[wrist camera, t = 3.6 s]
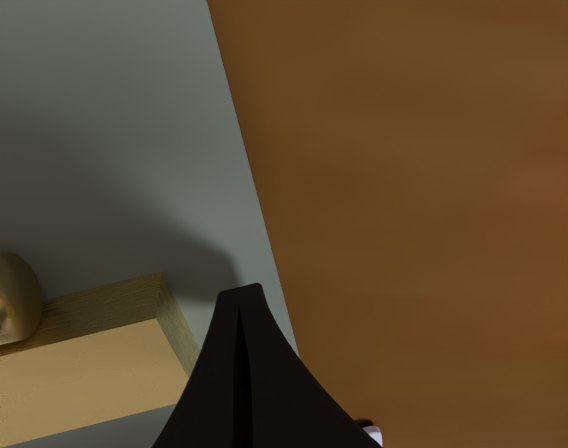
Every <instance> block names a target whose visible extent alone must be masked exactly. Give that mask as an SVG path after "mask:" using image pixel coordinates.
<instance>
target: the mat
mask: <svg viewBox="0 0 568 448" xmlns="http://www.w3.org/2000/svg"><path fill="white" fill-rule="evenodd" d="M1 253H12V254H15V255H18V256H19V257H21V258H22V259H23V260H25V261H26V262H27V263H28V265H29V266H30V267H31V269H32V270H33V272H34V273H35V275H36V277H37V280H38V282H39V285H40V289H41V294H42V300H45V299H49V298H53V297H57V296H62V295H66V294H70V293H74V292H78V291H82V290H86V289H90V288H94V287H98V286H103V285H107V284H111V283H115V282H119V281H123V280H127V279H131V278H135V277H139V276H143V275H148V274H152V273H156V272H160V271H162V272H163V274H164V276H165V278H166V280H167V282H168V284H169V286H170V288H171V290H172V293H173V295H174V297H175V299H176V301H177V303H178V305H179V307H180V309H181V311H182V313H183V315H184V317H185V319H186V321H187V323H188V326H189V328H190V330H191V332H192V334H193V336H194V338H195V340H196V342H197V344H198V346H199V348H200V351H201V349H202V346H203V343H204V340H205V337H206V334H207V332H208V329H209V325H210V322H211V319H212V315H213V312H214V308H215V304H216V300H217V295H218V294H219V292H220V291H224V290H229V289H233V288H237V287H241V286H245V285H249V284H253V283H257V282H258V283H260V284H262V287H263V291H264V294H265V297H266V301H267V304H268V306H269V309H270V311H271V313H272V315H273V317H274V319H275V321H276V322H277V324H278V326H279V328H280V329H281V331H282V333H283V335H284V336H285V338H286V339H287V341H288V342H289V344H290V345H291V347H292V348H293V350H294V351H295V353H296V354H297V356H298V357H299V353H298V350H297V346H296V342H295V338H294V334H293V330H292V327H291V323H290V319H289V315H288V311H287V307H286V304H285V300H284V296H283V292H282V288H281V284H280V281H279V277H278V273H277V269H276V265H275V261H274V258H273V254H272V250H271V246H270V242H269V238H268V235H267V231H266V227H265V223H264V219H263V215H262V212H261V208H260V204H259V200H258V196H257V192H256V189H255V185H254V181H253V177H252V173H251V169H250V166H249V162H248V158H247V154H246V150H245V146H244V142H243V139H242V135H241V131H240V127H239V123H238V119H237V116H236V112H235V108H234V104H233V100H232V96H231V93H230V89H229V85H228V81H227V77H226V73H225V70H224V66H223V62H222V58H221V54H220V50H219V47H218V43H217V39H216V35H215V31H214V27H213V24H212V20H211V16H210V12H209V8H208V4H207V1H206V0H0V254H1ZM299 358H300V357H299ZM176 404H177V403H176ZM176 404H172V405H169V406H165V407H161V408H157V409H153V410H149V411H145V412H141V413H137V414H133V415H129V416H125V417H121V418H117V419H113V420H109V421H105V422H101V423H97V424H93V425H89V426H85V427H81V428H77V429H73V430H69V431H65V432H61V433H57V434H53V435H49V436H45V437H41V438H37V439H33V440H29V441H25V442H21V443H17V444H13V445H10V446H6V447H2V448H151V447H152V445H153V444H154V442H155V441H156V439H157V438H158V436H159V434H160V433H161V431H162V429H163V428H164V426H165V424H166V422H167V421H168V419H169V417H170V415H171V414H172V412H173V410H174V408H175V406H176Z"/></svg>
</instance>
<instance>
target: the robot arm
mask: <svg viewBox="0 0 568 448" xmlns="http://www.w3.org/2000/svg"><path fill="white" fill-rule="evenodd" d="M151 448H382V436H381V433H380V430H379V428H378V427H376V426H368V427H364V428H361V427H360V426H359V425H358V424H357V423H356V422H355V421H354V420H353V419H352V418H351V417H350V416H349V415H348V414H347V413H346V412H345V411H344V410H343V409H342V408H341V407H340V406H339V405H338V404H337V403H336V402H335V400H334V399H333V398H332V397H331V396H330V395H329V394H328V393H327V392H326V391H325V390H324V389H323V387H322V386H321V385H320V384H319V383H318V381H317V380H316V379H315V378H314V377H313V375H312V374H311V373H310V372H309V370H308V369H307V368H306V366H305V365H304V364H303V363H302V361H301V360H300V358H299V357H298V356H297V354H296V353H295V351H294V350H293V348H292V347H291V345H290V344H289V342H288V341H287V339H286V338H285V336H284V335H283V333H282V331H281V329H280V328H279V326H278V324H277V322H276V321H275V319H274V317H273V315H272V313H271V311H270V309H269V306H268V304H267V301H266V297H265V294H264V291H263V287H262V284H260V283H258V282H257V283H253V284H249V285H245V286H241V287H237V288H233V289H229V290H224V291H220V292H219V294H218V295H217V300H216V304H215V308H214V312H213V315H212V319H211V322H210V325H209V329H208V332H207V334H206V337H205V340H204V343H203V346H202V349H201V351H200V354H199V356H198V359H197V361H196V364H195V366H194V368H193V371H192V373H191V376H190V378H189V380H188V382H187V384H186V386H185V389H184V391H183V393H182V395H181V397H180V399H179V401H178V402H177V404H176V406H175V408H174V410H173V412H172V414H171V415H170V417H169V419H168V421H167V422H166V424H165V426H164V428H163V429H162V431H161V433H160V434H159V436H158V438H157V439H156V441H155V442H154V444H153V445H152V447H151Z"/></svg>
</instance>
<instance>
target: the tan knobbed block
mask: <svg viewBox="0 0 568 448" xmlns="http://www.w3.org/2000/svg"><path fill="white" fill-rule="evenodd" d="M199 354H200V348H199V346H198V344H197V342H196V340H195V338H194V336H193V334H192V332H191V330H190V328H189V326H188V323H187V321H186V319H185V317H184V315H183V313H182V311H181V309H180V307H179V305H178V303H177V301H176V299H175V297H174V295H173V293H172V290H171V288H170V286H169V284H168V282H167V280H166V278H165V276H164V274H163V272H162V271H160V272H156V273H152V274H148V275H143V276H139V277H135V278H131V279H127V280H123V281H119V282H115V283H111V284H107V285H103V286H98V287H94V288H90V289H86V290H82V291H78V292H74V293H70V294H66V295H62V296H57V297H53V298H49V299H45V300H42V294H41V289H40V285H39V282H38V280H37V277H36V275H35V273H34V272H33V270H32V269H31V267H30V266H29V265H28V263H27V262H26V261H25V260H23V259H22V258H21V257H19V256H18V255H15V254H12V253H1V254H0V448H2V447H6V446H10V445H13V444H17V443H21V442H25V441H29V440H33V439H37V438H41V437H45V436H49V435H53V434H57V433H61V432H65V431H69V430H73V429H77V428H81V427H85V426H89V425H93V424H97V423H101V422H105V421H109V420H113V419H117V418H121V417H125V416H129V415H133V414H137V413H141V412H145V411H149V410H153V409H157V408H161V407H165V406H169V405H172V404H176V403H177V402H178V401H179V399H180V397H181V395H182V393H183V391H184V389H185V386H186V384H187V382H188V380H189V378H190V376H191V373H192V371H193V368H194V366H195V364H196V361H197V359H198V356H199Z"/></svg>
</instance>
